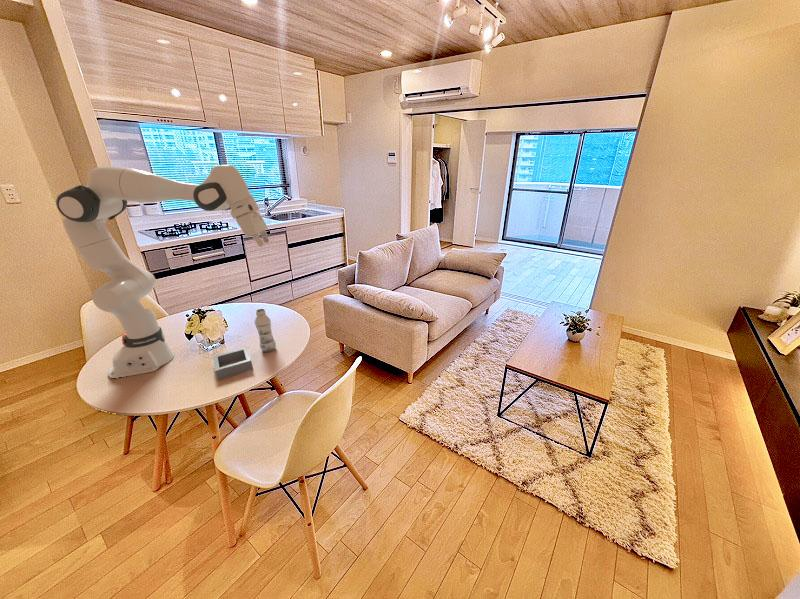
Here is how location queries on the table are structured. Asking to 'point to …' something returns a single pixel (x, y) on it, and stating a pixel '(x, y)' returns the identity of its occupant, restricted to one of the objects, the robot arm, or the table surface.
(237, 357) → the collar socket
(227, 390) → the table surface
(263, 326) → the plastic bottle
